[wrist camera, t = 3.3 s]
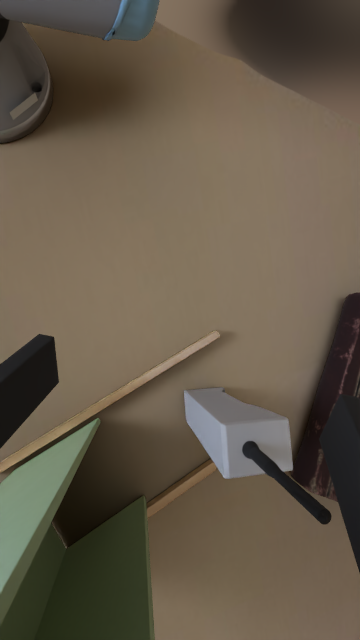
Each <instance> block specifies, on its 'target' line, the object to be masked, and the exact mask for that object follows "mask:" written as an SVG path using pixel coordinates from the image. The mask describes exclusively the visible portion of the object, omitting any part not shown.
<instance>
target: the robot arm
mask: <svg viewBox="0 0 360 640" xmlns="http://www.w3.org/2000/svg"><path fill="white" fill-rule="evenodd" d="M158 5H159V0H0V143H5V142H10V141H14V140H17V139H19V138H22V137H24V136H26V135H28V134H29V133H31V132H32V131H33V130H35V129H36V128H37V127H38V126H39V125H40V124H41V123H42V122H43V121H44V119H45V118H46V116H47V114H48V112H49V110H50V108H51V104H52V100H53V84H52V79H51V76H50V72H49V69H48V66H47V63H46V60H45V58H44V56H43V54H42V52H41V50H40V49H39V47H38V46H37V44H36V43H35V42H34V40H33V39H32V37H31V36H30V34H29V33H28V31H27V30H26V29H25V27H24V26H23V24H22V23H21V22H23V23H28V24H33V25H38V26H43V27H48V28H53V29H58V30H63V31H68V32H73V33H78V34H83V35H88V36H93V37H98V38H102V39H103V40H108V41H109V40H111V39H121V40H131V41H138V40H141V39H143V38H145V37H146V36H147V35H148V34H149V32H150V31H151V29H152V27H153V24H154V21H155V18H156V14H157V10H158ZM58 383H59V379H58V370H57V360H56V351H55V342H54V337H52V336H47V335H42V334H39V335H37V336H36V337H35V338H33V339H32V340H31V341H30V342H28V343H27V344H26V345H24V346H23V347H22V348H21V349H19V350H18V351H17V352H15V353H14V354H13V355H12V356H10V357H9V358H8V359H7V360H5V361H4V362H3V363H1V364H0V448H1V447H2V446H3V445H4V444H5V443H6V442H7V440H8V439H9V438H10V437H11V436H12V435H13V434H14V432H15V431H16V430H17V429H18V428H19V427H20V426H21V425H22V423H23V422H24V421H25V420H26V419H27V418H28V417H29V416H30V414H31V413H32V412H33V411H34V410H35V409H36V408H37V406H38V405H39V404H40V403H41V402H42V401H43V400H44V399H45V397H46V396H47V395H48V394H49V393H50V392H51V391H52V389H53V388H54V387H55V386H56V385H57V384H58ZM319 440H320V444H321V447H322V450H323V454H324V457H325V460H326V463H327V467H328V470H329V473H330V477H331V480H332V483H333V486H334V490H335V493H336V496H337V500H338V503H339V506H340V510H341V513H342V516H343V519H344V523H345V526H346V529H347V533H348V536H349V539H350V542H351V546H352V549H353V552H354V556H355V559H356V562H357V566H358V569H359V572H360V398H359V397H354V396H349V395H344V394H340V395H339V398H338V400H337V402H336V404H335V406H334V408H333V410H332V412H331V415H330V417H329V419H328V421H327V423H326V425H325V427H324V429H323V432H322V434H321V436H320V438H319Z"/></svg>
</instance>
